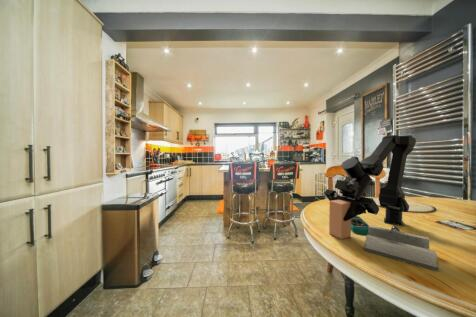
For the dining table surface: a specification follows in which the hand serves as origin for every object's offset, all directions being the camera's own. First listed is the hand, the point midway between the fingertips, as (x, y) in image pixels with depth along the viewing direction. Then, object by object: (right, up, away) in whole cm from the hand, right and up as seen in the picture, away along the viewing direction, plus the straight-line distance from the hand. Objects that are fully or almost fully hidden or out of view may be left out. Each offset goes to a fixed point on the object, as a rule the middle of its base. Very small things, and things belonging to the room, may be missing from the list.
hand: (337, 218), depth 66 cm
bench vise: (+15, -7, -7) cm, 18 cm away
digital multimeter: (+13, -7, +9) cm, 18 cm away
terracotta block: (+1, -7, +1) cm, 7 cm away
